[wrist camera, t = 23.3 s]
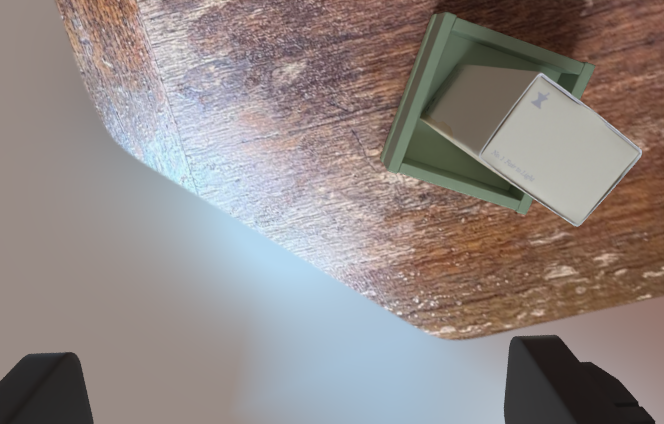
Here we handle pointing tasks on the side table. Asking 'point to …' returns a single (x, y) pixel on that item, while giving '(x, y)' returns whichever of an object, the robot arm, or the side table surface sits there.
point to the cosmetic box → (533, 136)
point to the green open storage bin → (428, 76)
